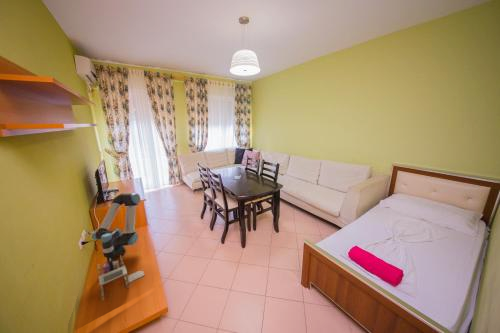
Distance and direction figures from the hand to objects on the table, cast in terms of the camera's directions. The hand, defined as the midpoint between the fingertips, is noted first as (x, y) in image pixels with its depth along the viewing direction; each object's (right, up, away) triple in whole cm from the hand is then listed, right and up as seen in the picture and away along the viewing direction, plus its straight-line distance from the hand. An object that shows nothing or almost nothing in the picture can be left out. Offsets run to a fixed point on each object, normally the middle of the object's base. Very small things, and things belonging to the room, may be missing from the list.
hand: (111, 271), depth 161 cm
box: (0, -4, +1) cm, 4 cm away
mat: (+22, -4, 0) cm, 23 cm away
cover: (+14, +7, -16) cm, 22 cm away
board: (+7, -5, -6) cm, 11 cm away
